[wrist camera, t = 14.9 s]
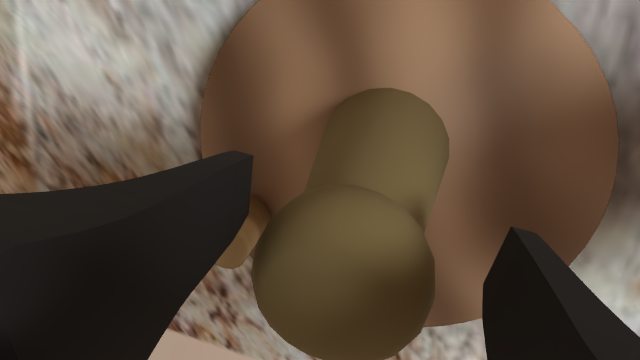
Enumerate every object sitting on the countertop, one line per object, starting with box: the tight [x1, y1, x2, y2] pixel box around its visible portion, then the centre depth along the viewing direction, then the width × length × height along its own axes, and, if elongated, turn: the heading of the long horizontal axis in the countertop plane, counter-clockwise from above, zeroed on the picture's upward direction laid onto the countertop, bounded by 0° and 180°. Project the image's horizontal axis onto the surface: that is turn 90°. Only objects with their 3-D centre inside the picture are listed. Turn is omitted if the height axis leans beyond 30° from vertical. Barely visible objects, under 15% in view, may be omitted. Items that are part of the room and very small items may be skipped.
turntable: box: [200, 0, 619, 327], centre depth 19 cm, size 20×20×5 cm
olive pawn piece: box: [251, 88, 449, 360], centre depth 15 cm, size 6×6×11 cm
